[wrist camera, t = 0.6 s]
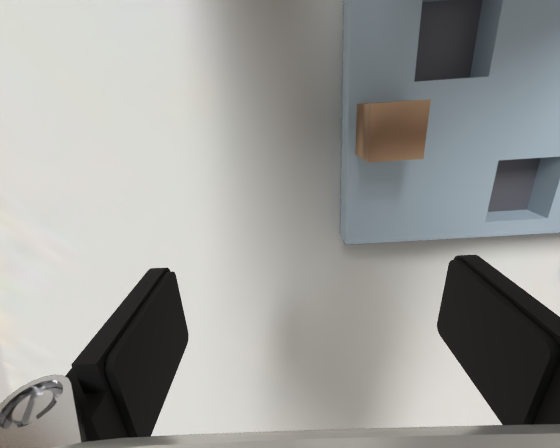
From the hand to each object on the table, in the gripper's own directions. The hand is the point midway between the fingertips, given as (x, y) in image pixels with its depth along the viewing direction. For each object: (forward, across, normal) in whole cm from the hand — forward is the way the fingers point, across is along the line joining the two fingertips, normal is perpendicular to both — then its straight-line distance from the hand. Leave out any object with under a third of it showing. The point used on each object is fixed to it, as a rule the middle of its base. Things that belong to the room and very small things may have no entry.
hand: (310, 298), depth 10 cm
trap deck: (+23, -20, -4) cm, 31 cm away
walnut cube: (+20, -8, -4) cm, 22 cm away
